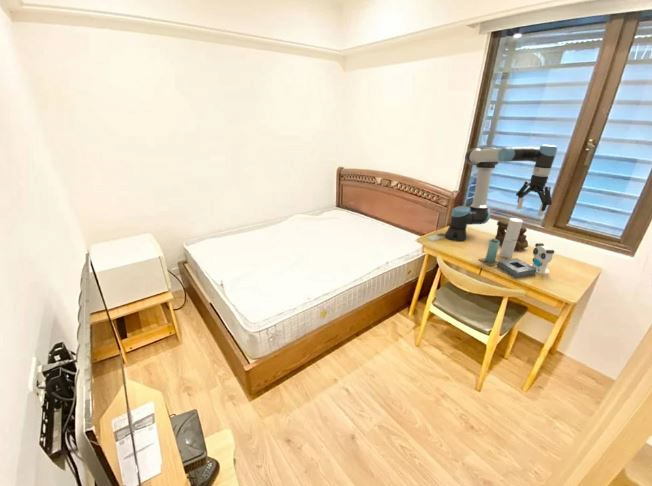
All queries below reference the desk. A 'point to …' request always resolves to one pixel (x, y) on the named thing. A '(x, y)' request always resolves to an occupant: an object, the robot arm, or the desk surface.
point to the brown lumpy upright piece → (501, 233)
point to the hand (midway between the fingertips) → (528, 212)
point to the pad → (488, 263)
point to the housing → (516, 268)
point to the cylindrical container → (511, 237)
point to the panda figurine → (542, 258)
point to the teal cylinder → (492, 251)
